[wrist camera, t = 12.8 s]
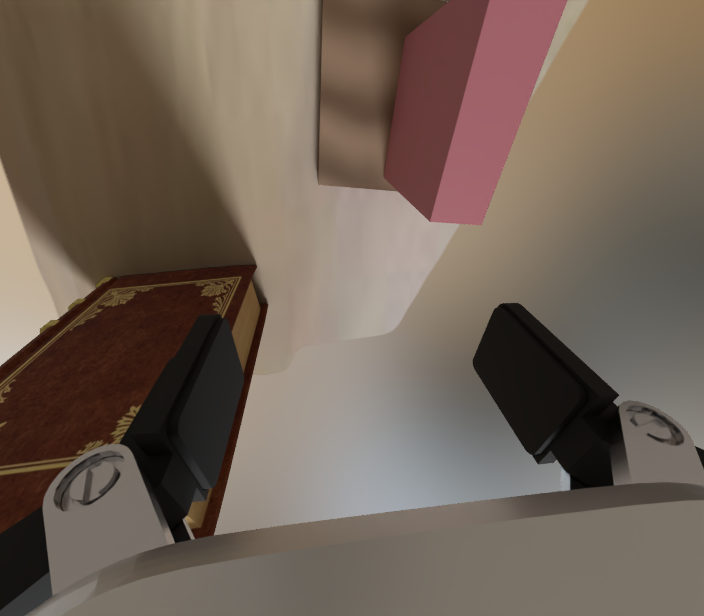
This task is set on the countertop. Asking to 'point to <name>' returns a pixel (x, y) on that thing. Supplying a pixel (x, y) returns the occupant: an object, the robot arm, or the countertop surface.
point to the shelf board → (362, 85)
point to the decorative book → (113, 376)
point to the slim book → (465, 102)
